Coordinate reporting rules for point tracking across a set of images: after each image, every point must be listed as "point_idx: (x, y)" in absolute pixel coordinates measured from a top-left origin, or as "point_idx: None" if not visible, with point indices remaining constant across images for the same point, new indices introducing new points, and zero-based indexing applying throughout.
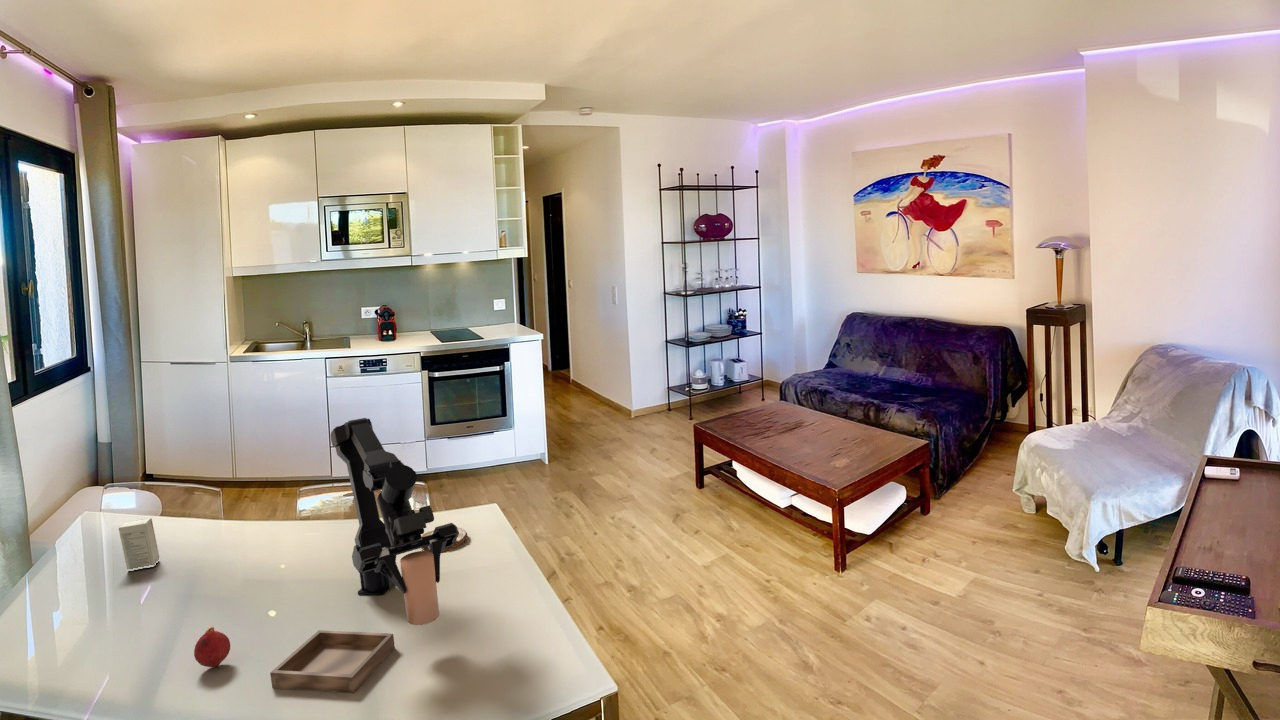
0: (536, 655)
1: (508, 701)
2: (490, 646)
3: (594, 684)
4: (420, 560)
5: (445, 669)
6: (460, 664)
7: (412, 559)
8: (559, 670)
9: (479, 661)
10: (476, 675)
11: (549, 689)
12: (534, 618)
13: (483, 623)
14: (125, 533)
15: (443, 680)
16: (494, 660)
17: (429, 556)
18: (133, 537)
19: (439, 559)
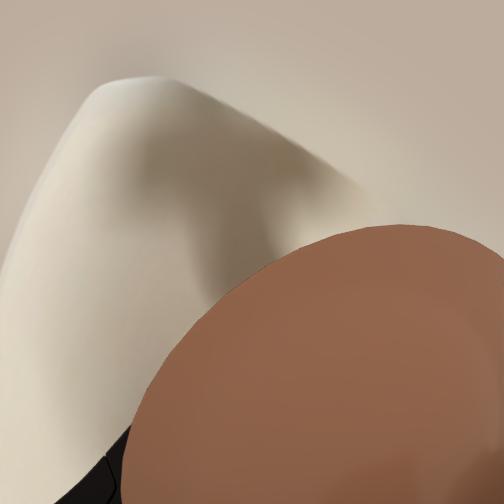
0: (93, 192)
1: (206, 111)
2: (134, 286)
3: (99, 93)
4: (415, 355)
5: (261, 265)
6: (224, 261)
7: (482, 459)
8: (101, 136)
9: (183, 244)
10: (213, 200)
11: (143, 106)
12: (20, 323)
13: (102, 401)
14: None
15: (279, 227)
16: (157, 226)
17: (213, 437)
18: None
19: (91, 475)
